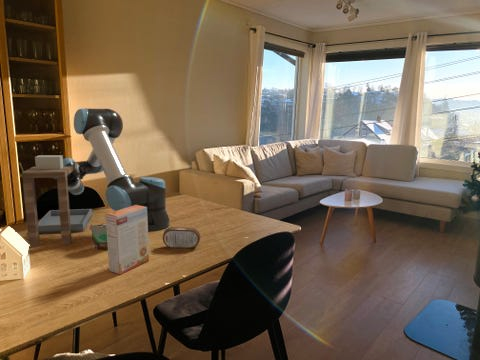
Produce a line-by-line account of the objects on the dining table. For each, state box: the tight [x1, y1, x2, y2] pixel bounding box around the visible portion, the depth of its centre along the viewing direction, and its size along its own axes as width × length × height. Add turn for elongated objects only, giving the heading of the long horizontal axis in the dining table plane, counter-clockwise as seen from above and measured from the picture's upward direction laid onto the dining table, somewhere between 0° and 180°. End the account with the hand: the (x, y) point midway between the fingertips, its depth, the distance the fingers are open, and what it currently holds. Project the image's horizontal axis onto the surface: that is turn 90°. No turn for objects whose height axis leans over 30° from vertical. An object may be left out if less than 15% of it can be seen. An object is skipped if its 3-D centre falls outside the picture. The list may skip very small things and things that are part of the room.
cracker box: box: [105, 205, 150, 276], centre depth 126 cm, size 14×6×21 cm, turn 150°
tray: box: [38, 208, 93, 234], centre depth 169 cm, size 24×20×4 cm
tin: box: [162, 226, 201, 249], centre depth 145 cm, size 15×3×8 cm, turn 92°
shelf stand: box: [21, 166, 73, 248], centre depth 146 cm, size 14×15×30 cm
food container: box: [89, 222, 108, 251], centre depth 142 cm, size 12×6×10 cm, turn 117°
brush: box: [34, 154, 64, 169], centre depth 150 cm, size 16×9×5 cm, turn 13°
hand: (59, 165), depth 162 cm, fingers open, 13 cm apart
